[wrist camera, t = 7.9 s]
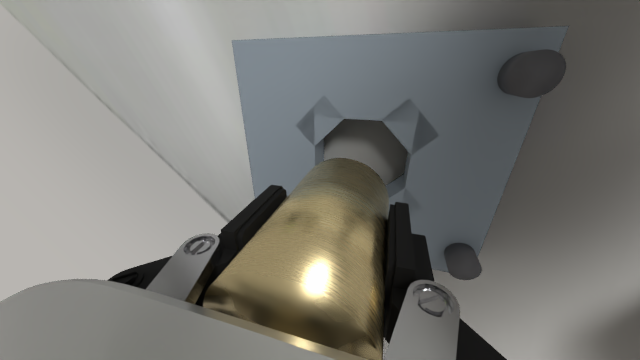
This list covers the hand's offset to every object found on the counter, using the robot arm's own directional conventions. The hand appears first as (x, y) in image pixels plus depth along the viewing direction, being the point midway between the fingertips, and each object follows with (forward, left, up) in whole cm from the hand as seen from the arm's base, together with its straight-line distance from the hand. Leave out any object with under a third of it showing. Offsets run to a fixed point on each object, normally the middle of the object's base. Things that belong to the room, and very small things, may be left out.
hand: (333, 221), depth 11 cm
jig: (0, 0, -9) cm, 9 cm away
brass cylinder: (0, 0, -2) cm, 2 cm away
